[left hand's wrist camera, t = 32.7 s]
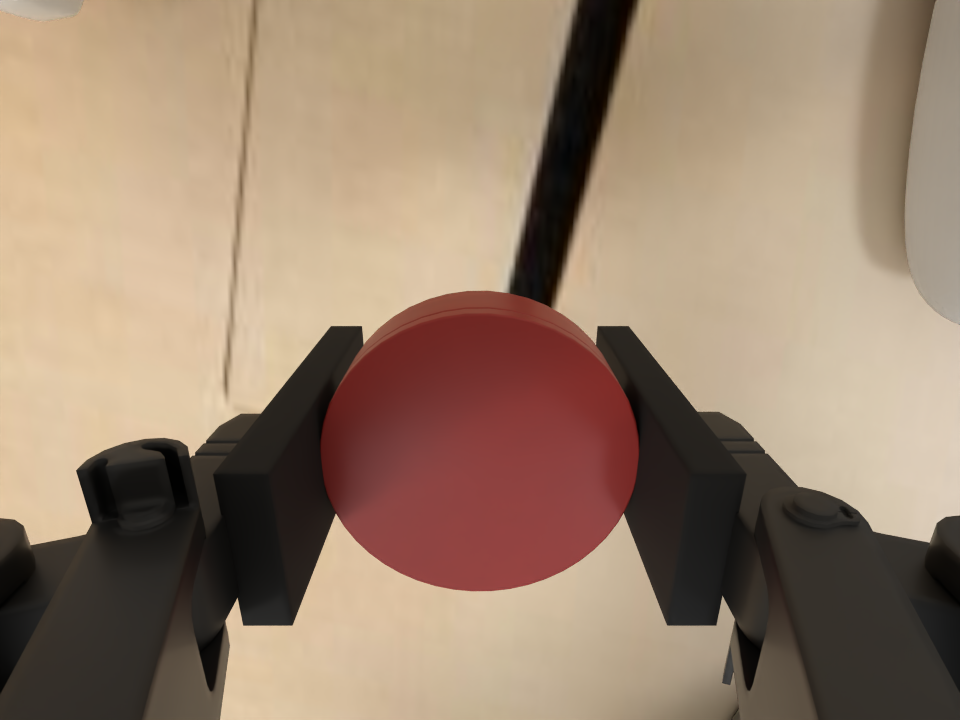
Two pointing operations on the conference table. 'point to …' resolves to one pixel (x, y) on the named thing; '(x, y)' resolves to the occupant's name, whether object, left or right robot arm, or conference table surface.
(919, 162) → the projector
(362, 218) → the conference table surface
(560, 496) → the lid
